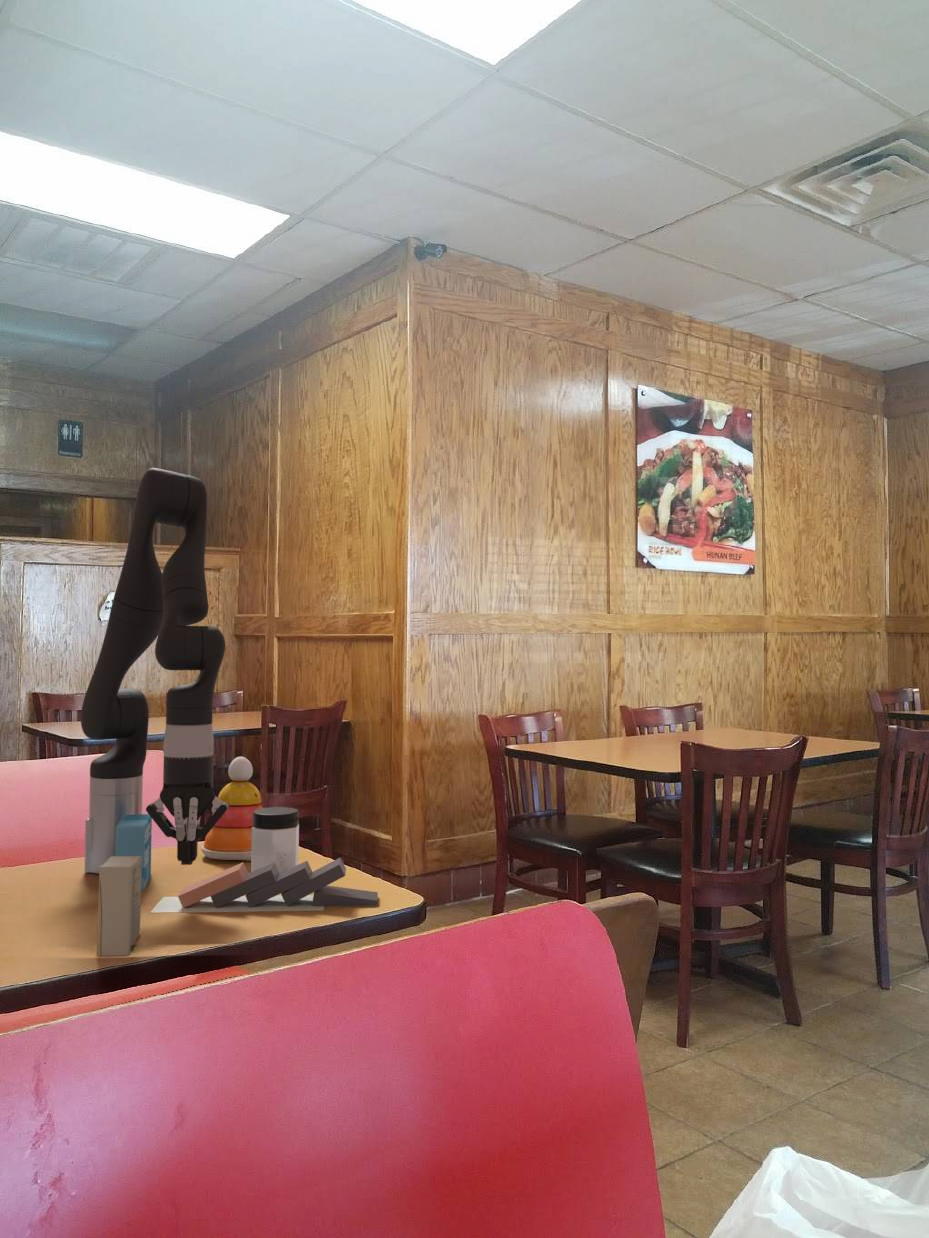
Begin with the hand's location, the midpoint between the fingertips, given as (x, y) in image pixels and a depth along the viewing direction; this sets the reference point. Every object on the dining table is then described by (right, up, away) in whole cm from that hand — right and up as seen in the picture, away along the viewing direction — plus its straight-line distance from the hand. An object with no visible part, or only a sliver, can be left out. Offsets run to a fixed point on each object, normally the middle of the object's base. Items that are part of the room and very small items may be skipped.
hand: (186, 863), depth 150 cm
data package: (-13, -8, +13) cm, 20 cm away
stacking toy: (-1, -9, +39) cm, 40 cm away
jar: (+9, -8, +22) cm, 25 cm away
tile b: (+4, -5, 0) cm, 7 cm away
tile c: (+10, -6, +1) cm, 11 cm away
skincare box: (-4, -7, -19) cm, 20 cm away
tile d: (+15, -5, +1) cm, 16 cm away
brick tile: (0, -5, 0) cm, 5 cm away
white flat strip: (+8, -8, +1) cm, 11 cm away
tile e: (+20, -5, +2) cm, 20 cm away
